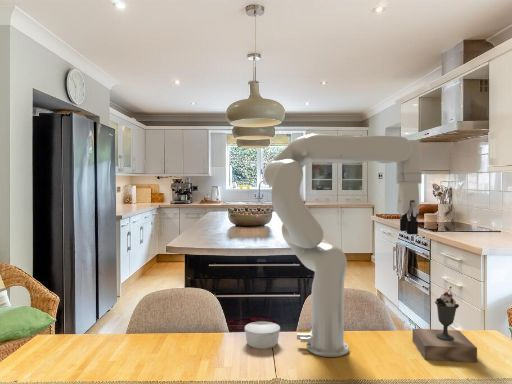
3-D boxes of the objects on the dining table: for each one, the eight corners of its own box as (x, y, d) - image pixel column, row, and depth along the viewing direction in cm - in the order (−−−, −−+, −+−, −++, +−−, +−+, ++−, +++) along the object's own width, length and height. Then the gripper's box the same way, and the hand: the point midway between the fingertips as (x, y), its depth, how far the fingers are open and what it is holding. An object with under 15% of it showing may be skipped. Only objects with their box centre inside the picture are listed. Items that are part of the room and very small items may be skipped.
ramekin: (273, 335, 136) (273, 319, 136) (285, 348, 125) (285, 331, 125) (240, 339, 133) (240, 322, 133) (249, 352, 122) (249, 334, 122)
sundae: (455, 334, 125) (458, 285, 125) (458, 343, 119) (461, 291, 118) (431, 331, 127) (434, 283, 127) (434, 339, 121) (436, 288, 120)
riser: (424, 359, 117) (424, 345, 117) (412, 341, 131) (412, 328, 131) (477, 362, 115) (477, 348, 115) (459, 343, 129) (459, 330, 129)
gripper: (391, 179, 141) (391, 229, 141) (402, 178, 124) (402, 235, 124) (414, 179, 140) (414, 229, 140) (428, 178, 123) (428, 236, 123)
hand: (408, 232), depth 132 cm, fingers open, 9 cm apart
